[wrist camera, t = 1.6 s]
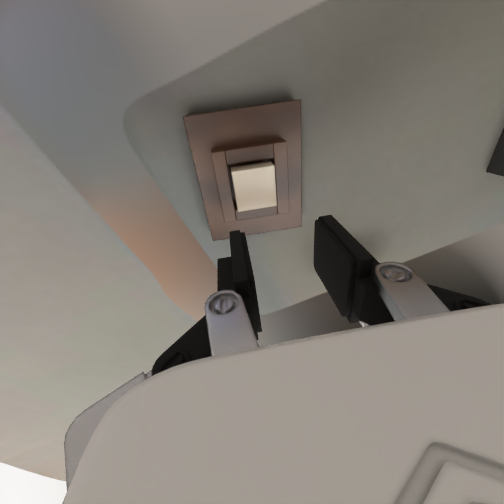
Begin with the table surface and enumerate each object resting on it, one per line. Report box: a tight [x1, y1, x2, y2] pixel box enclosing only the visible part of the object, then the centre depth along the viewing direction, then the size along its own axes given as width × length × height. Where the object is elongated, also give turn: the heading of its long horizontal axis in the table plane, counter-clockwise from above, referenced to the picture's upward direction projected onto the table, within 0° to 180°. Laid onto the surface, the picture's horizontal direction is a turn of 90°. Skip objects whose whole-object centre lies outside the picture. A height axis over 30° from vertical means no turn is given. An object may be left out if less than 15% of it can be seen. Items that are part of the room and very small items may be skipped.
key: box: [231, 161, 277, 212], centre depth 21 cm, size 4×4×2 cm
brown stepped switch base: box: [183, 100, 302, 241], centre depth 23 cm, size 12×10×4 cm
